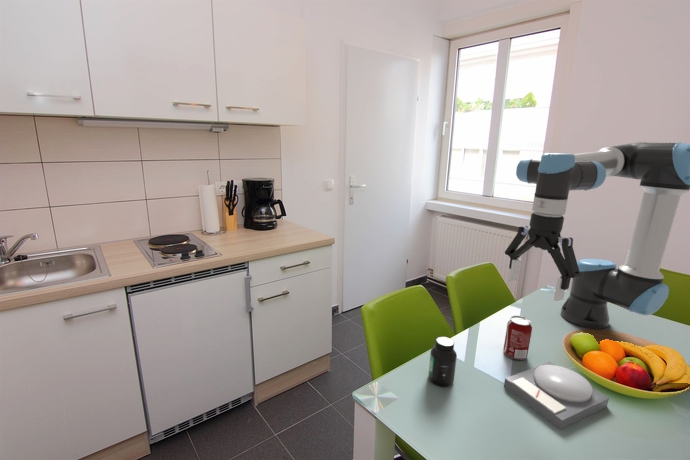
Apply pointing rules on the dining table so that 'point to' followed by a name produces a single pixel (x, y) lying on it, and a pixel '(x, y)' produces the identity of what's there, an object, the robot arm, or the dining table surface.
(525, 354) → the soda can
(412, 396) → the dining table surface
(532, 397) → the scale
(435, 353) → the supplement bottle
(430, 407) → the dining table surface
